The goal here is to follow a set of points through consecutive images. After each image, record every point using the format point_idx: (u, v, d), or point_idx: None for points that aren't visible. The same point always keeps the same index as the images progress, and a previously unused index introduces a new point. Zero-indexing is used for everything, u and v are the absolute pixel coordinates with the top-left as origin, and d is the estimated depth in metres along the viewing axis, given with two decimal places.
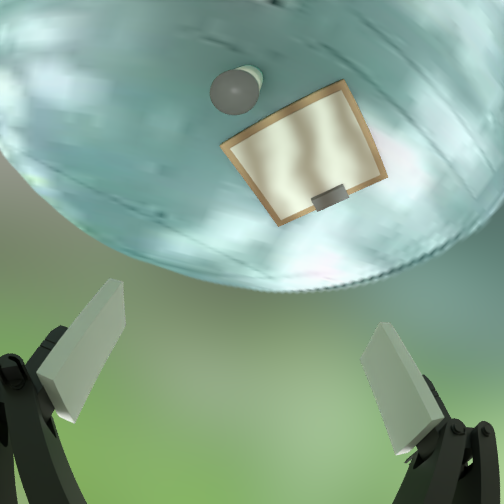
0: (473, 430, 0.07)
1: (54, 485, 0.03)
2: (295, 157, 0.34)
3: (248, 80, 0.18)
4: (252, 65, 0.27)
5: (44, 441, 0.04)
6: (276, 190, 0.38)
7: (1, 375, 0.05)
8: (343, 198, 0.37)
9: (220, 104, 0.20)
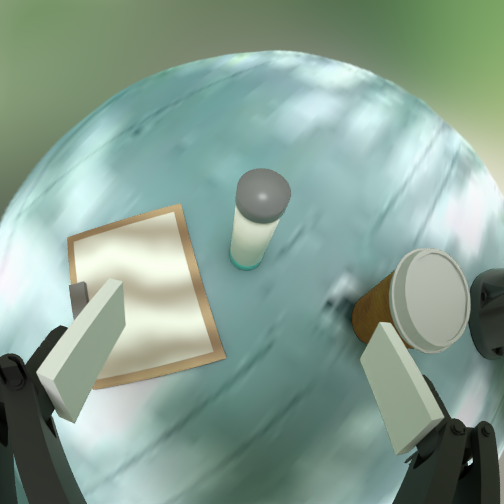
0: (473, 430, 0.07)
1: (54, 484, 0.03)
2: (139, 277, 0.28)
3: (275, 206, 0.19)
4: None
5: (44, 441, 0.04)
6: (108, 246, 0.29)
7: (1, 375, 0.05)
8: None
9: (254, 174, 0.20)
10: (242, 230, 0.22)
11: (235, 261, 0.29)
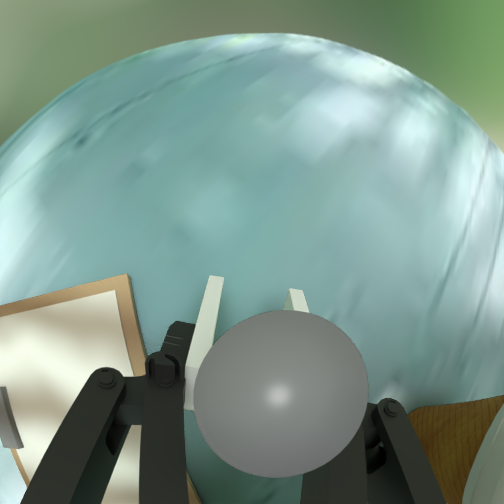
0: (374, 412, 0.08)
1: (180, 487, 0.05)
2: (68, 397, 0.14)
3: (318, 452, 0.05)
4: None
5: (183, 444, 0.06)
6: (25, 337, 0.14)
7: (149, 369, 0.08)
8: (2, 438, 0.10)
9: (257, 338, 0.05)
10: None
11: None
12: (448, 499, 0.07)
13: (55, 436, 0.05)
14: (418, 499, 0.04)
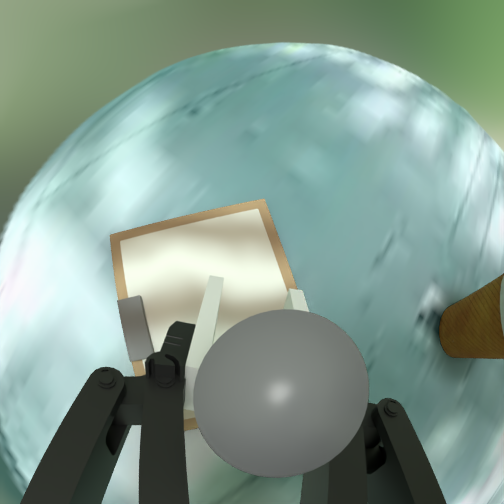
0: (374, 412, 0.08)
1: (180, 486, 0.05)
2: None
3: (318, 452, 0.05)
4: None
5: (183, 444, 0.06)
6: (172, 248, 0.23)
7: (149, 369, 0.08)
8: (130, 350, 0.19)
9: (257, 337, 0.05)
10: None
11: None
12: (492, 340, 0.16)
13: (55, 436, 0.05)
14: (418, 499, 0.04)
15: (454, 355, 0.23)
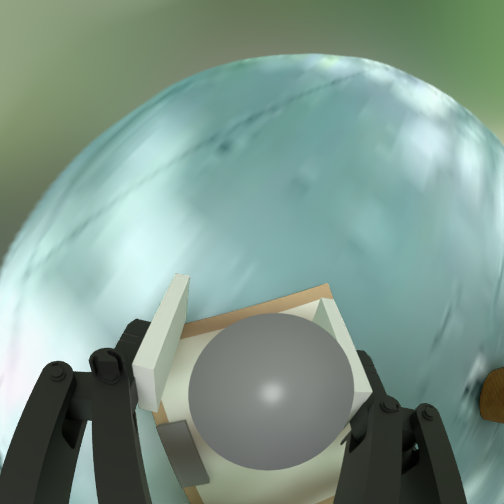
0: (412, 415, 0.08)
1: (134, 483, 0.04)
2: None
3: (305, 447, 0.05)
4: None
5: (133, 440, 0.06)
6: None
7: (94, 367, 0.07)
8: (180, 478, 0.13)
9: (247, 338, 0.06)
10: None
11: None
12: None
13: (16, 431, 0.04)
14: (444, 498, 0.04)
15: (490, 420, 0.17)
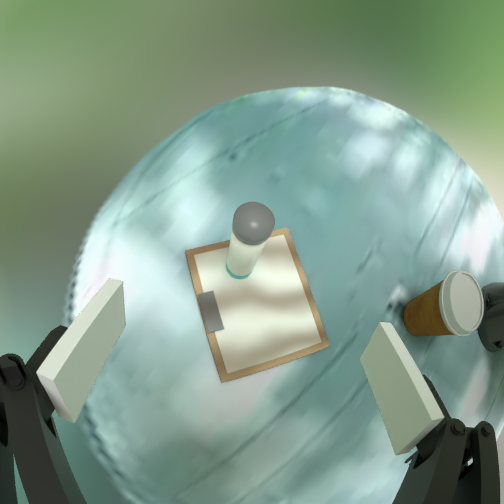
0: (473, 430, 0.07)
1: (54, 484, 0.03)
2: (262, 287, 0.37)
3: (262, 233, 0.25)
4: (251, 272, 0.37)
5: (44, 441, 0.04)
6: None
7: (1, 375, 0.05)
8: (208, 325, 0.33)
9: (247, 206, 0.26)
10: (236, 249, 0.28)
11: (230, 271, 0.35)
12: (436, 320, 0.31)
13: None
14: None
15: (415, 333, 0.37)
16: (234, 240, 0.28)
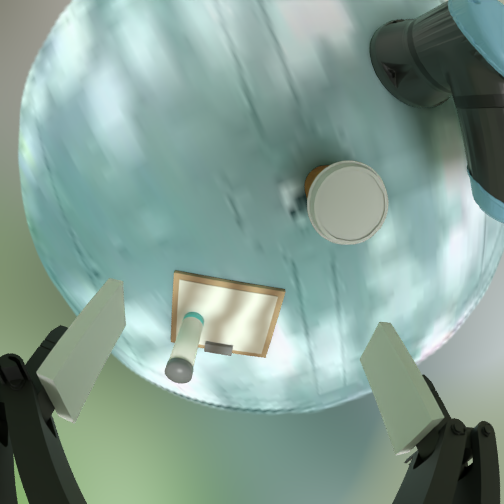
0: (473, 430, 0.07)
1: (55, 484, 0.03)
2: (215, 314, 0.46)
3: (188, 375, 0.35)
4: (201, 317, 0.46)
5: (44, 441, 0.04)
6: None
7: (1, 375, 0.05)
8: (227, 354, 0.49)
9: (168, 373, 0.35)
10: None
11: None
12: None
13: None
14: None
15: None
16: None
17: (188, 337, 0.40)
